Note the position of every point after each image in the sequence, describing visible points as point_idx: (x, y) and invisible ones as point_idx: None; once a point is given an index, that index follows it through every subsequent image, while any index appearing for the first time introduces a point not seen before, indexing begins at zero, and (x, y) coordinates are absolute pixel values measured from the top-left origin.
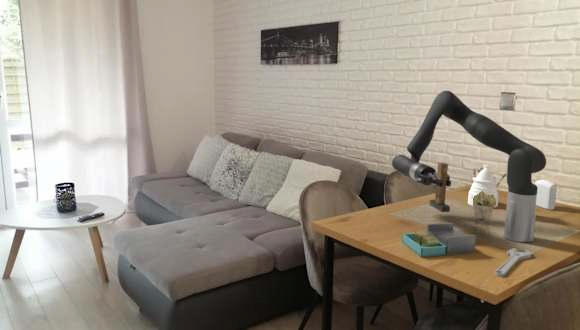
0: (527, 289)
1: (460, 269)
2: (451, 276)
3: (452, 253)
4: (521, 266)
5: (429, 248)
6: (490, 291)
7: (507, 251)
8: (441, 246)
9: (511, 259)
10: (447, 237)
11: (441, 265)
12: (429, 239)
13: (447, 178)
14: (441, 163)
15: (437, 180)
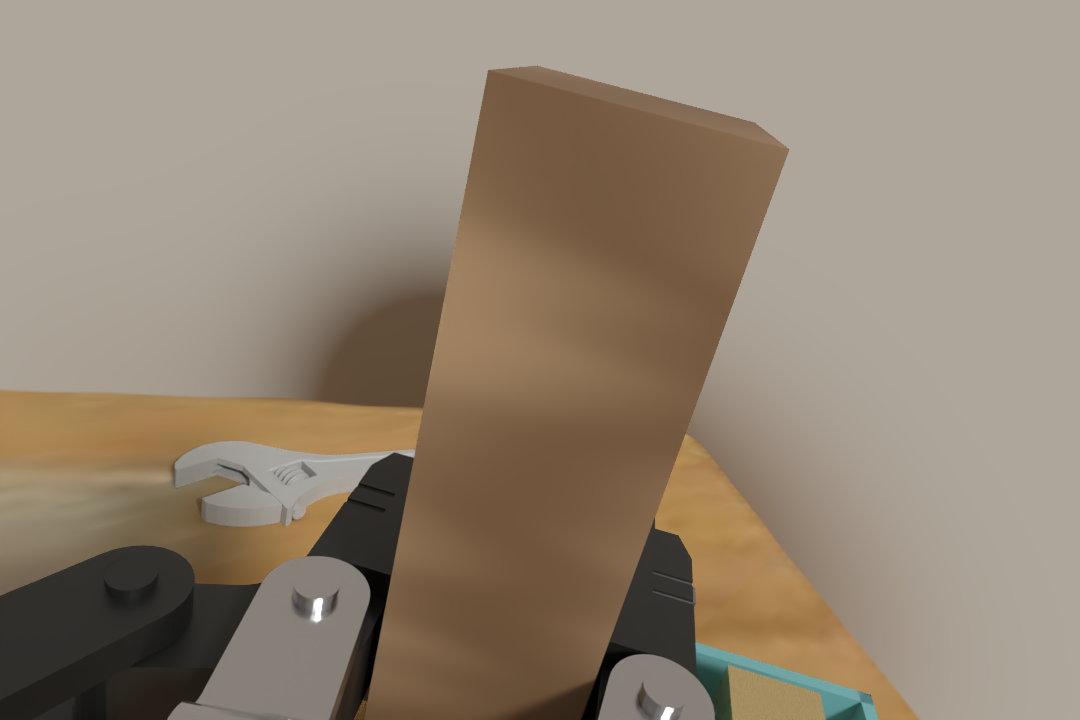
0: None
1: (690, 550)
2: (768, 536)
3: None
4: (392, 447)
5: (808, 680)
6: (687, 436)
7: (287, 513)
8: (718, 653)
9: None
10: (694, 597)
11: (763, 613)
12: (798, 702)
13: (189, 600)
14: (697, 116)
15: (643, 617)
